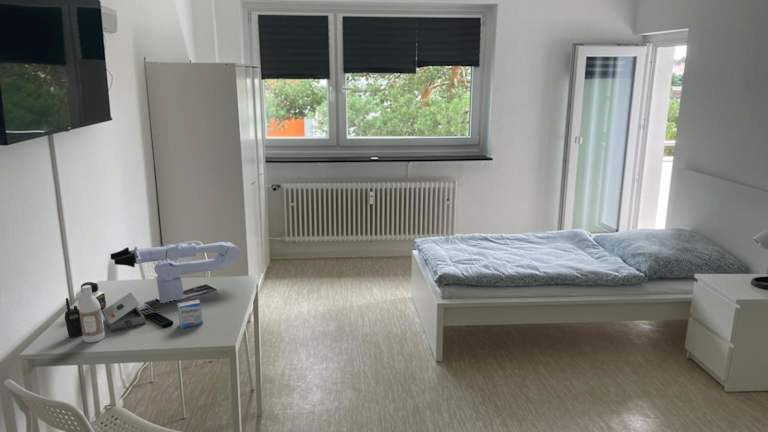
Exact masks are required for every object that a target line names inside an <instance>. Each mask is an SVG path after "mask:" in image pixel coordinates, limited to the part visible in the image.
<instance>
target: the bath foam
mask: <svg viewBox="0 0 768 432" xmlns="http://www.w3.org/2000/svg"><path fill="white" fill-rule="evenodd" d="M82 292H83V298H82V300H81V302H80V305H78V309H79V314H80V320H81V326H82V332H83V335H82V337H83V338H82V339H83V342H85V343H89V344H90V343H96V342H100V341H102V340H103V339H104V338H105V337H106V333H105V332H106V331H105V327H104V321H103V320H104V319H103V314H102V311H101V306H100V303H99V302H98V300H97V299H96V298H95V297H94V296H93V295H92V289H91V286H90V285H86V286H83V287H82V290H81V293H82Z"/></svg>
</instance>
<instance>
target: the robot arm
mask: <svg viewBox="0 0 768 432" xmlns="http://www.w3.org/2000/svg"><path fill="white" fill-rule="evenodd" d="M208 253H209V254H210V253H217V254H216V256H215V258H209V259H207V258H206V259H201V260H192V261H183V262H182V261H181V262H174V261H178V260H179V259H185V258H193V257H194V258H195V257H196V256H197V255H198V254H208ZM241 255H242V251H241V248H240V247H239V246H237V245H235V244H233V243H232V242H231V241H219V242H212V243H207V244H200V245H197V244H196V243H194V242H192V241H189V242H187V243H183V244H182V243H181V244H179V243H176V244H172V243H171V244H170V243H168V244H165V245H164V246H155V247H146V248H138V246H134V249H130V247H127V246H126V247H125V248H123V249H122V250H119V251H117V252H116V251H115V252H112V253H110V260H112V261H114V265H118V266H127V267H131V268H135V267H136V266H135V265H138V264H143V263H151V262H157V263H156V264H155V266H154V272H155V273H156V275H157V278H156V284H157V291H158V296H157V297H156V300H157V299H158V300H159V301H160V302H161V303H163V304H166V302H167V303H170V302H169V301H172V302H174V301H173V300H176V301H180V300H183V299H185V297H184V296H185V295H184V289H183V282H182V278H181V276H182V275H183V276H184V275H190V274H196V273H197V274H198V273H205V272H212V271H213V272H214V271H219V270H223V269H225V268H226V267H228V266H229V265H231V264H233V263H236V262H237V261H238V259H239V258H240V256H241ZM166 260H170V261H171V262H167V261H166ZM172 261H173V262H172ZM158 300H157V301H158ZM159 301H158V302H159ZM160 302H159V303H160ZM161 303H160V304H161Z"/></svg>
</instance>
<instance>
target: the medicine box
mask: <svg viewBox="0 0 768 432" xmlns="http://www.w3.org/2000/svg"><path fill="white" fill-rule="evenodd" d="M176 305H177V313H178V319H179V321H178V322H179V325H180V328H181V329H186V328H191V327H196V326H200V325H203V324H204V322H203V312H202V303H201V302H200V300H199V299H195V300H189V301H184V302H180V303H177V304H176Z"/></svg>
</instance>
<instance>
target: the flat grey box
mask: <svg viewBox="0 0 768 432" xmlns="http://www.w3.org/2000/svg"><path fill="white" fill-rule="evenodd" d="M103 318H104V319H103V320H104V322H105V323H106V325H107V327H108V330H110V332H111V333H115V332H120V331H123V330H127V329H132V328H135V327H139V326H144V325H146V323H147V322H146V317H145V315H144V314H143V312H142V311H141V309H139V307H138V306H137V307H135V308H134V309H132V310H131V311H129V312H128V313H126V314H125V315H124V316H122V317H121V318H119V319H118V320H116V321H115V322H113V323H112V324H111V325H109V324H108V323H107V321H106V319H105V317H104V316H103Z"/></svg>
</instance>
